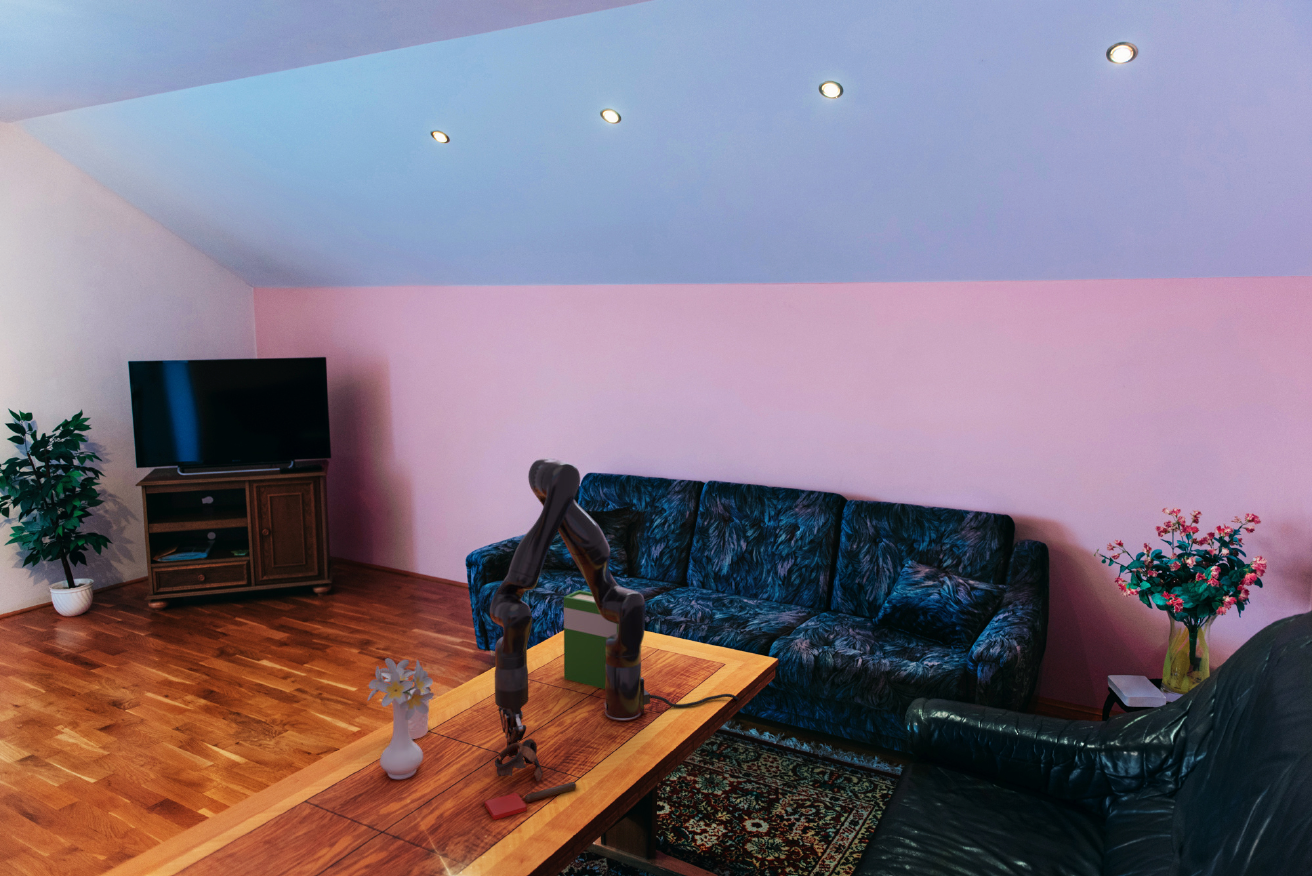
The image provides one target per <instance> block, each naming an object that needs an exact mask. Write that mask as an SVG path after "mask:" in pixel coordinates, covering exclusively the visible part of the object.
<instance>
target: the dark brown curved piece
mask: <svg viewBox="0 0 1312 876" xmlns="http://www.w3.org/2000/svg"><path fill="white" fill-rule="evenodd" d="M516 749H518V753H517V754H516V755H515V756H513V757H512V758H510V760H508V761H507V762H505V763H503V761H504V760H505V759H506V758H507V756H509V755H508V754H510V753H511V752H512V751H514V750H516ZM537 752H538V746H537V742H536V741H535V740H534V739H533V738H528V739H526V740H524V741H523V742H522V743H521V742H520V741H518V742H517V743H513V744H511V745H509V746H508V747H507V746H506V747H505V748H504V749H502V750H501V751H500V752H499V757H500V758H499V757H497V758H496V759H495V760H494V766H495V767H496V775H497V776H498V777H506V776H509V777H511V778H513V777H514V775H513V771H514V768H515V769H521V770H524V769H526V768H527V766H526V764H527V765H532V764H534V767H535V771H534V773H533V776H534V778H535V781H536V782H540V780H541V779H542V776H543V773H544V772H543V769H542V766H541V765H540V761H539V758H538V756H537V754H538V753H537Z"/></svg>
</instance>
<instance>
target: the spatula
mask: <svg viewBox="0 0 1312 876" xmlns="http://www.w3.org/2000/svg"><path fill="white" fill-rule="evenodd" d="M576 788H577V784H576V783H575V782H574V781H569V782H567V783H563V784H560V785H556V786H553V787H549V788H544V789H541V790H537V791H534V792H531V793H527V794H526V795H525V796H524V801H525V802H524V801H523V799H522V798H521V797H520V795H519V794H518V793H517V792H514V793H510V794H507V795H506V794H505V795H503V796H498V797H495V798H492V799H488V800H485V801H484V807H485V808H486V810H487V811H488V813H489V814H490V816H491V818H492V820H493V821H495V820H499V819H503V818H506V817H509V816H510V817H511V816H513V815H517V814H520V813H524V812H527V811H528V808H527V805H526V803H531V802H536V801H539V800H542V799H543V800H544V799H545V798H549V797H553V796H557V795H560V794H563V793H568V792H571V791H574V790H576Z"/></svg>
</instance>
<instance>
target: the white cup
mask: <svg viewBox="0 0 1312 876" xmlns="http://www.w3.org/2000/svg"><path fill="white" fill-rule="evenodd" d="M415 690H416V689H413V690H410V693H411V694H413V692H414V691H415ZM409 698H410V696H409V697H408V699H409ZM423 702H424V703H425V704H426V705H427V707H428V712H427V713H426V714H422V713H420V712H418V711H417V710H416V708H415V712H414V715H413V716H412V717H411V718H410V719H409V720H408V729H409V734H410V736H411V738H412V740H417V739H420V738H422V737H424V736H426V735H427V734H428V732H429V716H430V714H429V712H430V699H429V700H427V701H423ZM407 709H408V707H407Z"/></svg>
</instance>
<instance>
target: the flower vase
mask: <svg viewBox="0 0 1312 876" xmlns="http://www.w3.org/2000/svg"><path fill="white" fill-rule="evenodd" d="M415 662H416V663H415V667H414V670H411V669H407V667H408V666H409V663H410V660H409V659H402V660H401V661H399V662H398V663H397V665H396V662H395V661H394V660H393V659H391V658H390V657H387V658H385V659H384V663H385V665H386V667H387V668H386V667H383V668H380V667H379V666H378V665H376V668H375V679H372V680H371V681H370V682H369V683H368V689H370V690H371V692H370V693H369V695H368V697H367V702H368V701H370V700H371V699H372V698H373V697H374V696H375V695H376V694H377V693H378V692H381V693H384V694H385V695H384V696H383V697H382V699H381V706H382V707H383V708H385V707H388V706H389V705H392V715H393V718H392V719H393V720H392V721H393V723H392V727H393V728H392V736H391V739H390V742H389V743H388V745H387V746H386V747H385V748H384V750H382V752H381V754H380V758H379V765H380V768H381V769H382V770H383V771H384V772H385V773H387V777H389V778H390V779H392V780H405V779H409V778H411V777H413V776H414V775H415V774H416V773H417V769H418V768H419V767H420V766H421V764H422V763H423V762H424V752H423V750H422V748H421V746H420V745H419V744H417V743H416V742H415V741H414V739H412V738H411V736H410V734H409V729H408V720H409V719H410V718H411V717H412V716H413V715H414V712H415V708H416V710H417V711H418V712H420V713H422V714H426V713H427V712H428V707H427V705H426V704H425V703H424V702H423V701H427V700H429V701H430V700H433V697H434V696H435V693H434V692H431V691H432V689H431V686H432V685H433V683H434V682H433V681H434V680H433V678H431V677H429V673H428V671H426V670H424V668H423V666H421V664H420V661H419V660H418V659H416V661H415ZM410 677H412V679H411V680H409V679H410ZM384 678H385V679H384ZM413 689H416V690H415V691H414V692H413V694H411V693H410V690H413ZM409 696H410V698H409V699H408V697H409ZM407 707H408V709H407Z"/></svg>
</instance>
